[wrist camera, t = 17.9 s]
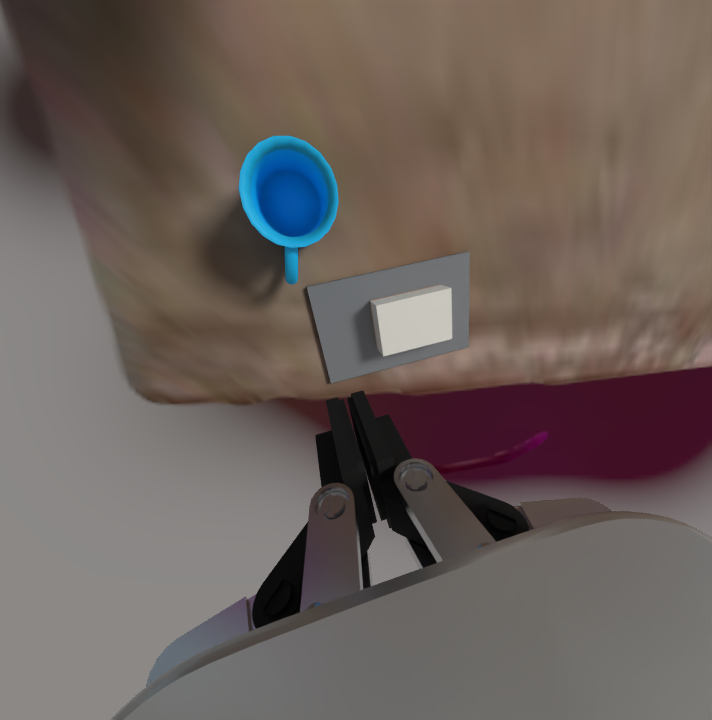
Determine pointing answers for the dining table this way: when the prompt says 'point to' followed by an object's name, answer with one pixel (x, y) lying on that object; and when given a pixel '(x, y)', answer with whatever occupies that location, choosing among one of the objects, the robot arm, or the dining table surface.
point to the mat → (354, 317)
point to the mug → (288, 195)
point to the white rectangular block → (412, 319)
